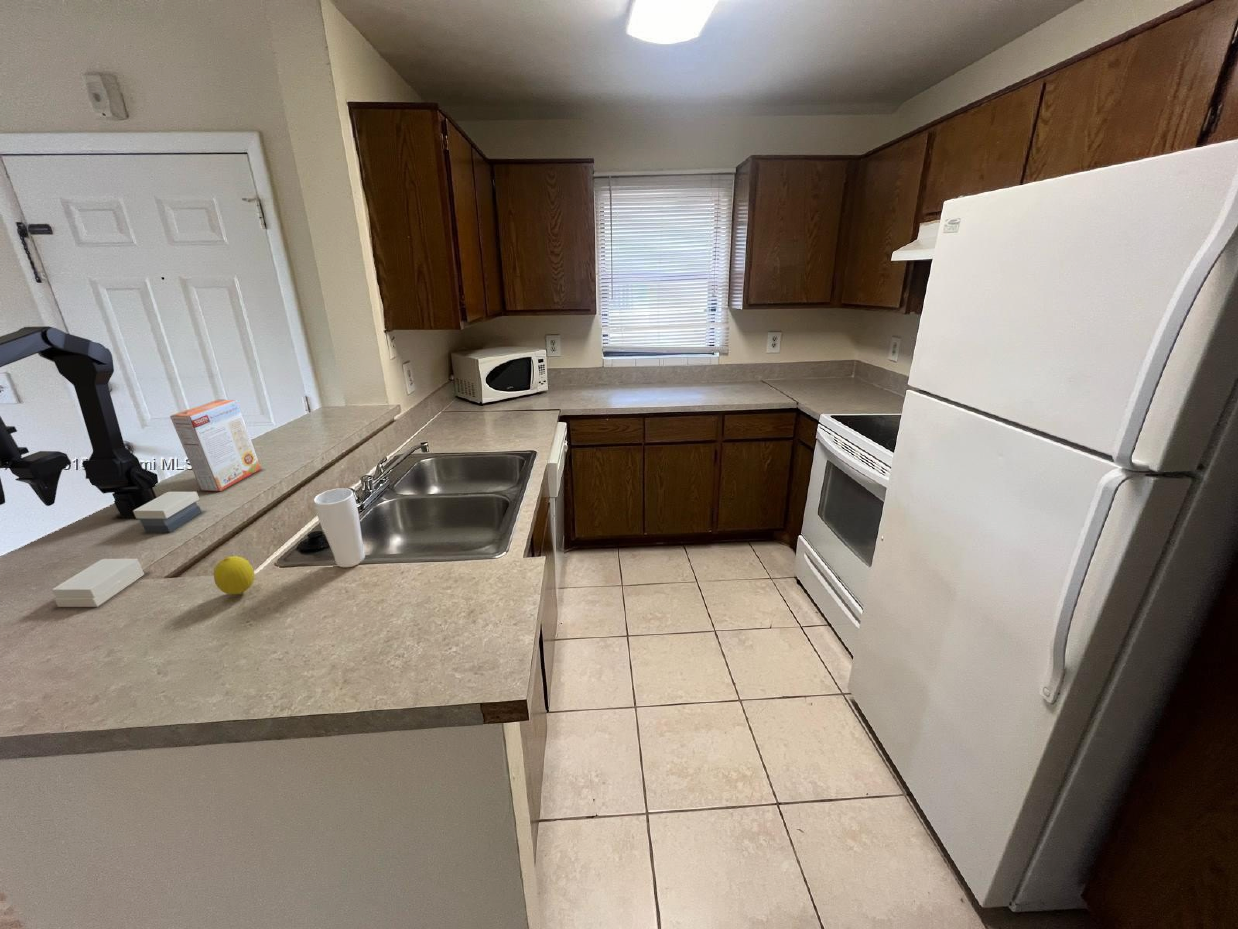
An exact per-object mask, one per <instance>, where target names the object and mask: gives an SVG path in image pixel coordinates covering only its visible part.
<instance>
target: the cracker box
mask: <svg viewBox="0 0 1238 929" xmlns="http://www.w3.org/2000/svg"><path fill="white" fill-rule="evenodd" d="M169 418H170V421H171V422H172V425H173V427H174V429H175V432H176V434H177V436H178V439H179V441H180V444H181V446H182V448H183V450H184V454H185V456H186V458H187V460H188V463H189V465H190V467H191V470H192V472H193V474H194V476H195V479H196V481H197V484H198V487H199V488H200V490H201V491H204V492H205V491H207V492H222V491H224V490H226V489H227V488H229V487H231V486H233V485H235V484H237V483H238V482H240V481H242V480H244V479H246V478H248V477H250V476H251V475H253V474H255V473H257V472H259V471H260V470H262V468H261V465H260V461H259V459H258V456H257V454H256V450H255V447H254V445H253V441H252V439H251V436H250V433H249V431H248V427H247V425H246V421H245V419H244V416H243V413H242V411H241V408H240V405H239V402H238V400H237V399H224V398H223V399H216V400H213V401H210V402H207V403H204V404H201V405H199V406H195V407H192V408H189V409H186V410H183V411H180V412H177V413H174V414H171V415H170V416H169Z"/></svg>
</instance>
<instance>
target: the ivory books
mask: <svg viewBox="0 0 1238 929" xmlns="http://www.w3.org/2000/svg"><path fill="white" fill-rule="evenodd" d="M144 575H145V573H144V570H143V568H142V565H141V563H140V561H139V559H138V558H101V559H100V560H98V561H97V562H95V563H93V564H92V565H90V566H88V567H86V568H85V569H83V570H81V571H80V572H78V573H77V574H75V575H73V576H72V577H70V578H68V579H66V580H65V581H63V582H62V583H60V584H58V585H57V586H55V587H53V588H52V589H51V591H52V593H53V595H54V596H55V597H54V598H53V600H54V602H55V604H56V605H57V607H58V608H90V607H91V608H98V607H100V606H101V605H102V604H104V603H105V602H107V601H108V600H110V599H111V598H113V597H114V596H115V595H117V594H119V593H120V592H122V591H123V590H124V589H126V588H128V586H130V585H131V584H133V583H134V582H136V581H137V580H139V579H141V578H142V576H144Z"/></svg>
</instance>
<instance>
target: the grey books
mask: <svg viewBox="0 0 1238 929" xmlns="http://www.w3.org/2000/svg"><path fill="white" fill-rule="evenodd" d="M200 514H202V509H201V507H200V505H198V503H197V501H195V502H194V503H192V504H190V505H189V506H187V507H185V508H184V509H182V510H180V511H179V512H177V513H175V514H174V515H172V516H170V517H169V518H167V519H139V520H140V522H141V524H142V525H141V526H142V527H143V529H144V530H145V532H146V533H149V534H150V533H157V534H159V533H160V534H161V533H162V534H163V533H168V534H169V533H172V532H173V531H175V530H176V529H178V528H179V527H181V526H183V525H184V524H186V523H187V522H189V521H190V520H192V519H194V518H195V517H197V516H198V515H200Z"/></svg>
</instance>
